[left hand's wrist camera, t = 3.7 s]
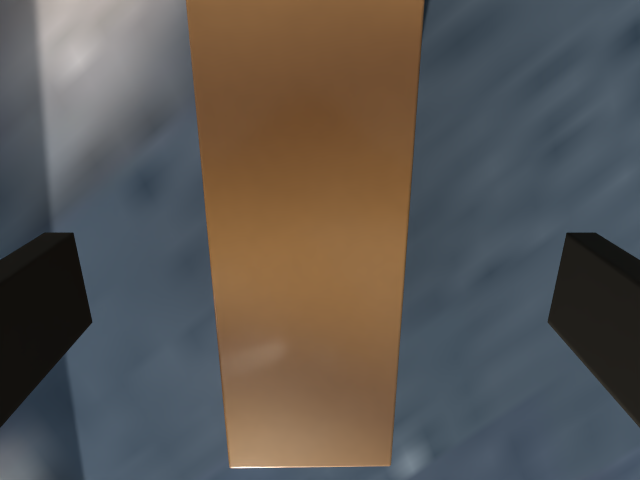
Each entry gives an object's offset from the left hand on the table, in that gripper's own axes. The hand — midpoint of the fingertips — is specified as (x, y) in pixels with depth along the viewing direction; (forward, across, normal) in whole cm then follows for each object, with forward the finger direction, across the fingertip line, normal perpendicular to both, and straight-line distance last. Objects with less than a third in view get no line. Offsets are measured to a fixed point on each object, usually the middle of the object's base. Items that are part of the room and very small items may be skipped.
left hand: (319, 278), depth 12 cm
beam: (+7, 0, -20) cm, 21 cm away
